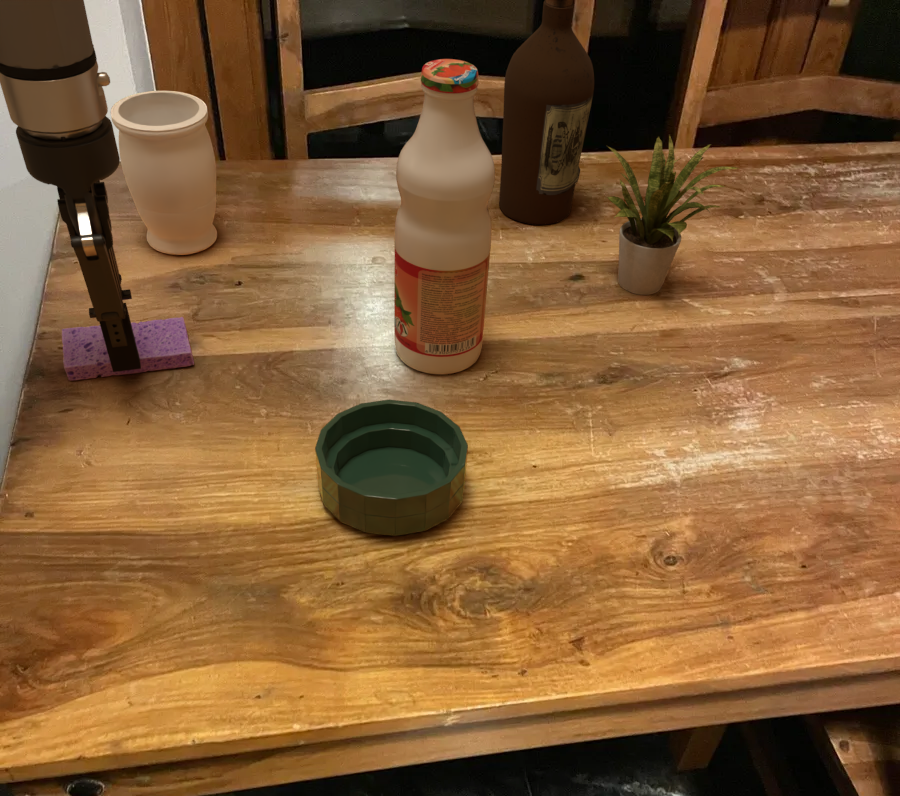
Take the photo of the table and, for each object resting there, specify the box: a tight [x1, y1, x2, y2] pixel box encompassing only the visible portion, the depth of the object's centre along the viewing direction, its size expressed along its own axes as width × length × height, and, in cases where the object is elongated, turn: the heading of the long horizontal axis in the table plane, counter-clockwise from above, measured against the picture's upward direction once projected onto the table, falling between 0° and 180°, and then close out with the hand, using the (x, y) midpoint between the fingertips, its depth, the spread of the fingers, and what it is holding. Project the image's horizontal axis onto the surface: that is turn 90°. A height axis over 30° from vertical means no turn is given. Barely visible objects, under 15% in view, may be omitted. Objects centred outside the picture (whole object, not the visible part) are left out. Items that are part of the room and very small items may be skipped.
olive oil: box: [498, 0, 595, 226], centre depth 113 cm, size 11×11×25 cm
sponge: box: [61, 316, 195, 382], centre depth 97 cm, size 7×13×2 cm, turn 106°
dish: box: [314, 399, 469, 537], centre depth 84 cm, size 13×13×5 cm
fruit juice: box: [393, 58, 496, 375], centre depth 90 cm, size 9×9×28 cm
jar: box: [110, 90, 218, 256], centre depth 107 cm, size 11×10×15 cm
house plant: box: [605, 134, 741, 296], centre depth 104 cm, size 14×14×16 cm
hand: (126, 366), depth 93 cm, fingers closed
